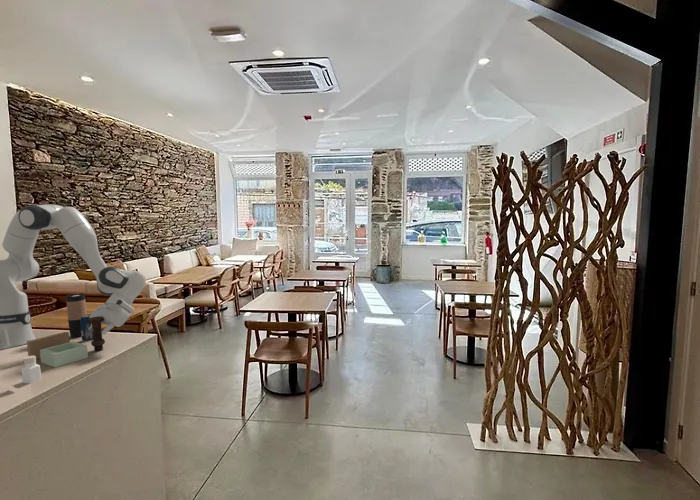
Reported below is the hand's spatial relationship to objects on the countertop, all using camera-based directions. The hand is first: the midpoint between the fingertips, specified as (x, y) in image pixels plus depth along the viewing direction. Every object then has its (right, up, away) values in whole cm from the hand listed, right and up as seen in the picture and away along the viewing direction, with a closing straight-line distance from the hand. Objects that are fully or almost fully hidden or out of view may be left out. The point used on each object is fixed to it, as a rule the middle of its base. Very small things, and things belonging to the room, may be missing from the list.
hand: (96, 332), depth 169 cm
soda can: (-14, -8, +18) cm, 24 cm away
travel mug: (-25, -7, +27) cm, 38 cm away
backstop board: (-9, -10, -8) cm, 16 cm away
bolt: (0, -9, +1) cm, 9 cm away
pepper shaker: (-4, -12, -30) cm, 32 cm away
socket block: (-6, -9, -10) cm, 15 cm away
